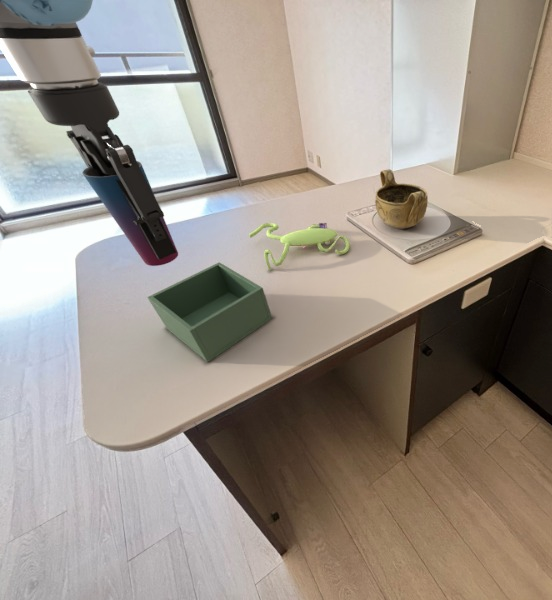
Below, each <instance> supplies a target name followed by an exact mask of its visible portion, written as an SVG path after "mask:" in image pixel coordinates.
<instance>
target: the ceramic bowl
mask: <svg viewBox="0 0 552 600" xmlns="http://www.w3.org/2000/svg"><path fill="white" fill-rule="evenodd" d="M379 177H380V182H381V187H379V188H378V189H377V190H376V192H375V197H374V199H375V200H374V203H375V204H374V205H375V210H376V213H377V216H378V218H379V219H380V220H381V221H382V222H383V224H385V225H387V226H388V227H390V228H393V229H397V230H401V229H408V228H411V227H414V226H416V225H417V224H419V223H420V222H421V221H422V220H423V218H424V217H425V215H426V212H427V210H428V209H427V208H428V202H429V201H428V200H429V199H428V198H429V197H428V192H427V190H426V189H425V188H423V187H422V186H419V185H416V184H411V183H398V182H396V178H395V175H394V172H393V170H392V169H390V168H389V169H388V168H387V169H382V170H380V173H379Z"/></svg>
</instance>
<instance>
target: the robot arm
mask: <svg viewBox="0 0 552 600" xmlns="http://www.w3.org/2000/svg"><path fill="white" fill-rule="evenodd" d="M92 5H93V0H0V51H1V52H2V54H3V55H4V57H5V59H6V60H7V62H8V64H9V65H10V67H11V68H12V70H13V71H14V74H15V75H16V76H17V78H18V79H19V81H21V82H23V83H25V84H29V87H28V90H27V93H28V95H29V96H30V98H31V100H32V101H33V102H34V104H35V106H36V108H37V109H38V111H39V113H40V114H41V115H42V117H43V119H44V120H45V121H46V122H47V123H48V124H51V125H55V126H61V127H70V128H71V130H65V133H66V136H67V138H69V139H70V141H71V142H72V144H73V146H74V147H75V148H76V150H77V152H78V153H79V155H80V157H81V159H82V161H83V162H84V164H85V166H86V168H88V167H90V166H92V167H93V168H94V169H96V170H97V171H98V173H99V175H100V177H104V176H113V175H118V177H119V178H120V180H121V181H119V180H116V179H115V180H116V182H117V184H118V186H119V188H120V189H121V191H122V193H123V195H124V197H125V199H126V201H127V202H128V204H129V205H130V207H131V209H132V210H133V212H134V213H135V215H136V216H137V218H138V219H137V220H135V221H133V222H134V223H135V224H136V225H139V226H140V228H141V230H142V232H143V234H144V235H145V237H146V239H147V241H148V242H149V244H150V246H151V248H152V250H153V251H154V253H155V255H156V257H157V258H158V259H159V260H160V259H162V258H165V257H167V256H169V255H171V254H174V253H176V250H175V248H174V246H173V244H172V242H171V240H170V238H169V236H168V234H167V232H166V230H165V228H164V226H163V224H162V222H161V220H160V218H161V217H163V218H165V214H164V212H163V210H162V208H161V206H160V204H159V202H158V200H157V198H156V195H155V194H153V193H154V192H153V193H152V191H153V190H152V191H151V189H150V187H149V185H148V183H147V181H146V179H145V177H144V175H143V173H142V171H141V169H140V167H139V165H138V163H137V161H138V160H137V157H136V156H135V153H134V150H133V148H132V147H131V146H130V145H129V144H124V143H123V142H122V140H121V138H120V137H119V136H118V135H117V134H115V133H114V132H113V130H112V129H111V127H110V126H109V122H110V121H114V120H116V119H117V118H119V117H120V110H119V108H118V106H117V104H116V102H115V99H114V98H113V96H112V94H111V92H110V90H109V87H108V85H105V84H104V83H103V82H101V81H98V80H99V79H100V78H101V77H102V74H101V72H100V70H99V68H98V66H97V64H96V62H95V60H94V59H93V57H94V56H96V51H95V49H94V48H93V47H91V46H90V45H87V43H86V41H85V39H84V36H83V35H82V32H81V30H80V28H79V26H78V24H77V23H78V22H80V21H81V20H83V19H84V18H86V16H87V15H88V14H89V13H90V10H91V9H92Z"/></svg>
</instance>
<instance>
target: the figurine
mask: <svg viewBox="0 0 552 600" xmlns="http://www.w3.org/2000/svg"><path fill="white" fill-rule="evenodd" d="M266 228H268V229H267V230H266V236H267V238H269V239H273V240H278V241H279V242H280V243H282V244H283V245H284V248H283V251H282V253H281V255H280V258H279V259H278V260H275V258H274V256H273V254H272V252H271V250H270V249H265V250H264V253H263V255H264V260H265V263H266V264H267V268H268V270H269V271H271V270H272V268H271V263H270V260H269V255H270V258H271V261H272V264H273V265H274V266H276V267H278V266H281V265H282V264H283V263H284V261H285V259H286V257H287V256H288V252H289V250H290V247H301V248H302V249H304V248H306V247H307V246H312V245H313V246H314V245H316V247H317V248H318V250H319V251H320V252H322V253H326V252H328V251H330V250H331V249H332V248H333V247H334V246H335V245H336V243H337V241H338V240H339V239H341V240H343V241H344V244H345V245H344V246H345V248H344V249H343V250H338V249H337V248H335V249H334V251H335V253H336V254H338V255H344V254H347V252H348V251H349V250H350V241H349V239H348V238H347V237H346V236H345V235H339V236H338V232H337V231H336V230H334V229H330V228H328V224H327V222H319V223H317V224H315V223H314V224H312V225H310V226H309V227H307V228H305V229H300V230H295V231H291V232H289V233H287V234H284V235H276V234H272V232H274V231H278V229H279V225H278V224H277V223H275V222H267V223H262V224H261V225H259V227H257V228H256V229H255V230H253V231H252V232H249V234H248V235H249V239H251V238H253V237H254V236H257V234H258V233H260V232H261V231H262V230H264V229H266ZM336 237H337V238H336ZM335 238H336V239H335ZM334 239H335V240H334ZM332 240H334V242H333V243H332V244H331V241H332ZM323 243H324V244H325V245H330V244H331V245H330V246H329V247H328V248H324V246H323V245H322V244H323Z"/></svg>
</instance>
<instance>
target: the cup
mask: <svg viewBox="0 0 552 600" xmlns="http://www.w3.org/2000/svg"><path fill="white" fill-rule="evenodd" d="M136 161H137V163H138V165H139V167H140V169H141V171H142V173H143V175H144V177H145V179H146V181H147V183H148V185H149V187H150V189H151V191H152V193H153V194H154V192H153V189H152V186H151V183H150V181H149V179H148V176H147V175H146V171H145V170H144V169H145V168H144V167H143V164H142V163H141V162H140V161H138V160H136ZM82 175H83V177H84V178H85V180H86V181H87V182H88V184H89V186H90V187H91V188H92V190H93V192H95V194H96V195H97V197H98V198H99V200H100V201H101V202H102V204H103V205H104V206H105V208H106V210H107V211H108V212H109V214H110V215H111V217H112V218H113V219H114V221H115V223H116V224H117V225H118V227H119V228H120V230H121V231H122V233H123V234H124V235H125V237H126V238H127V240H128V241H129V243H130V244H131V245H132V247H133V248H134V249H135V251H136V253H137V254H138V255H139V257H140V258H141V260H142V261H143V262H144V264H145V265H146V266H149V267H150V266H151V267H158V266H164V265H166V264H169V263H171V262H173V261H174V260H176V259H177V258H178V256H179V252H178V250H177V247H176V244H175V241H174V239H173V238H172V234H171V232H170V229H169V227H168V225H167V221H166V220H165V217H161V218H160V220H161V222H162V224H163V226H164V228H165V230H166V232H167V234H168V236H169V238H170V240H171V242H172V244H173V246H174V248H175V250H176V253H174V254H171V255H169V256H167V257H165V258H162V259H160V260H159V259H158V258H157V257H156V255H155V253H154V251H153V250H152V248H151V246H150V244H149V242H148V241H147V239H146V237H145V235H144V234H143V232H142V230H141V228H140V226H139V225H136V224H135V223H134V222H133V221H135V220H137V219H138V218H137V216H136V215H135V213H134V212H133V210H132V209H131V207H130V205H129V204H128V202H127V201H126V199H125V197H124V195H123V193H122V191H121V189H120V188H119V186H118V184H117V182H116V180H119V181H121V180H120V178H119V177H118V175H113V176H104V177H100V175H99V173H98V171H97V170H96V169H94V168H93V167H92V166H90V167H86V168H84V169H83V170H82ZM115 179H116V180H115ZM154 195H155V194H154Z"/></svg>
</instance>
